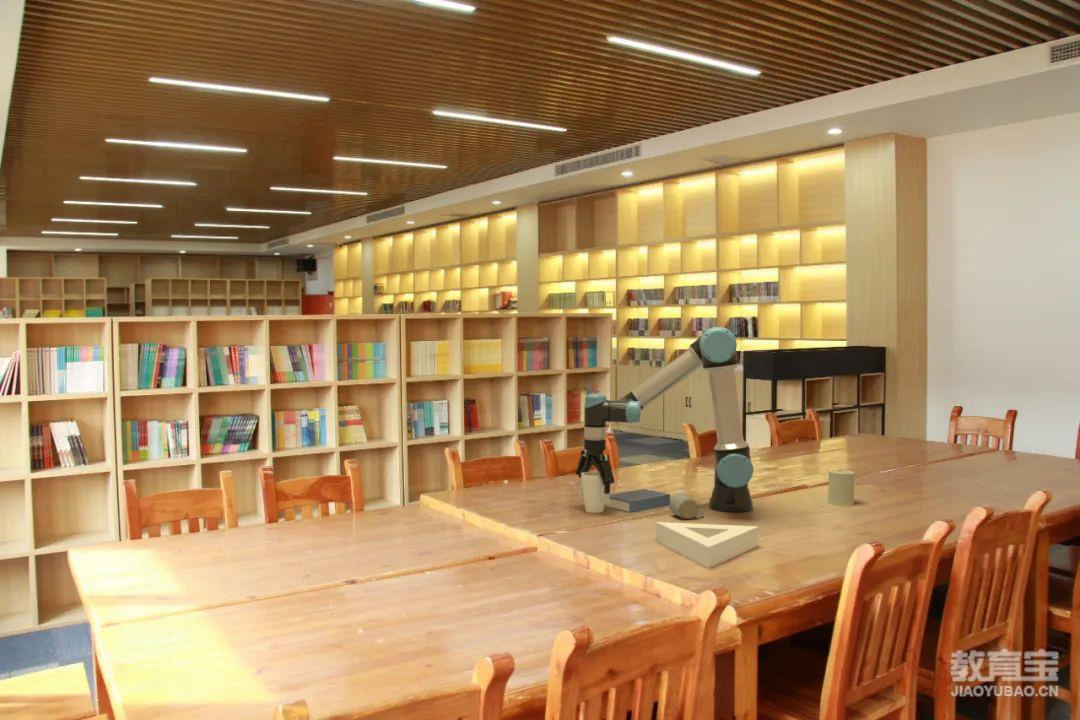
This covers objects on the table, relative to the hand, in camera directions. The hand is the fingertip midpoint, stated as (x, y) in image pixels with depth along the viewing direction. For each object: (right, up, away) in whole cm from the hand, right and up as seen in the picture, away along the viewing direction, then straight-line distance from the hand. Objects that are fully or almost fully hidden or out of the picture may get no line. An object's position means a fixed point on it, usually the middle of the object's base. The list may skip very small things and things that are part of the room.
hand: (594, 499), depth 293 cm
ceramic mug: (+31, -5, -9) cm, 33 cm away
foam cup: (0, -4, 0) cm, 4 cm away
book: (+16, -4, +8) cm, 19 cm away
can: (+91, -4, +15) cm, 93 cm away
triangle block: (+33, -7, -50) cm, 60 cm away
